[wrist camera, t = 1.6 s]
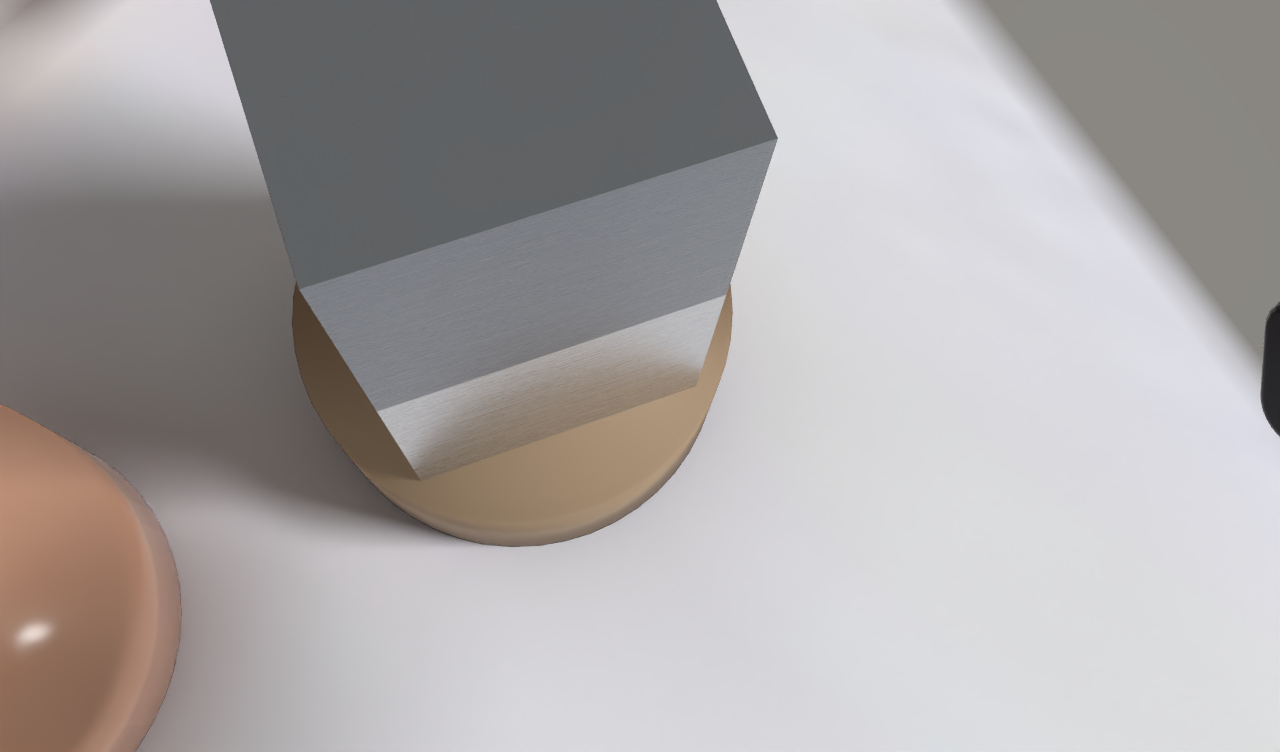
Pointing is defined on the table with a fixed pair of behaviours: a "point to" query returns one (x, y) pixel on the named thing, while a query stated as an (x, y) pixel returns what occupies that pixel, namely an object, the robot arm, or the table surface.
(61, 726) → the stand
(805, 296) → the table surface
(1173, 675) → the table surface
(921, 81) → the table surface
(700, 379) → the stand
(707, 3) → the plate
